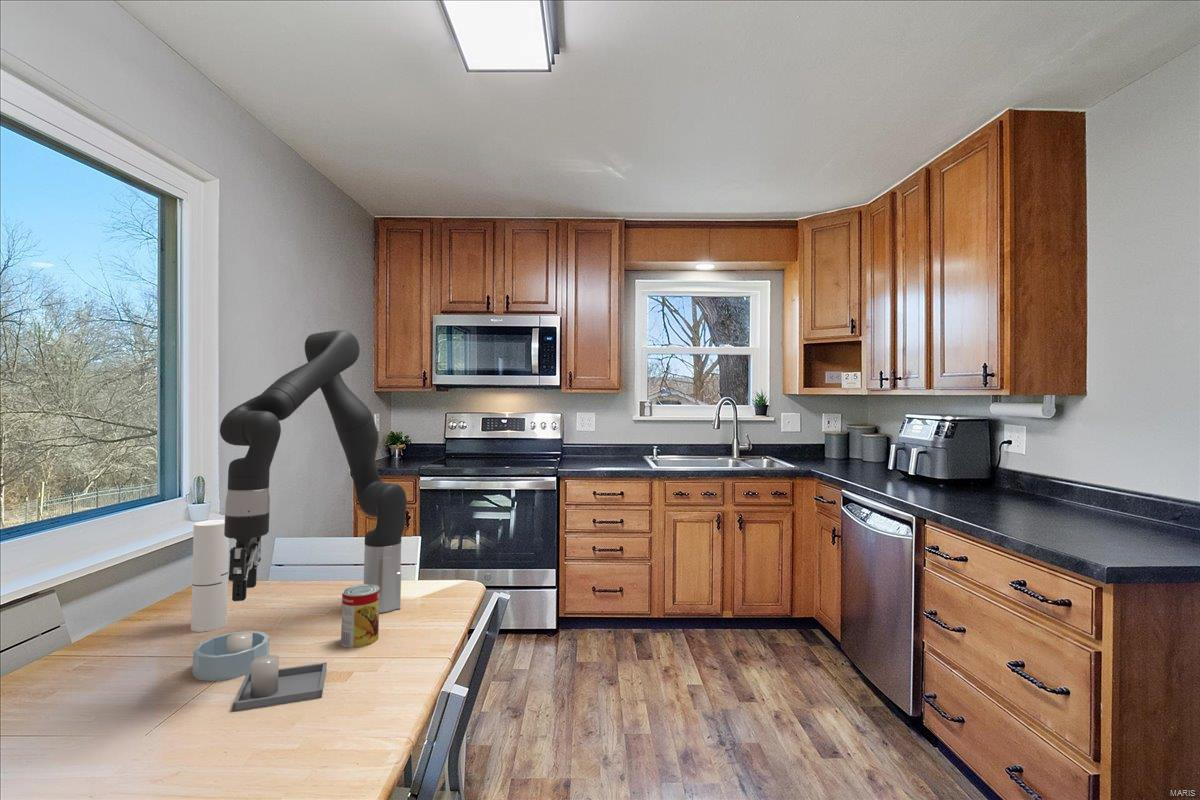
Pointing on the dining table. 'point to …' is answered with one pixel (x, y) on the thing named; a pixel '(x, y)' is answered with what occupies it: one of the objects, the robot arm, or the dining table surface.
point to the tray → (286, 687)
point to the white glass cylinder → (239, 642)
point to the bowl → (226, 657)
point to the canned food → (360, 615)
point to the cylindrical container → (209, 576)
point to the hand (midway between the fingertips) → (244, 593)
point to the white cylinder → (264, 676)
